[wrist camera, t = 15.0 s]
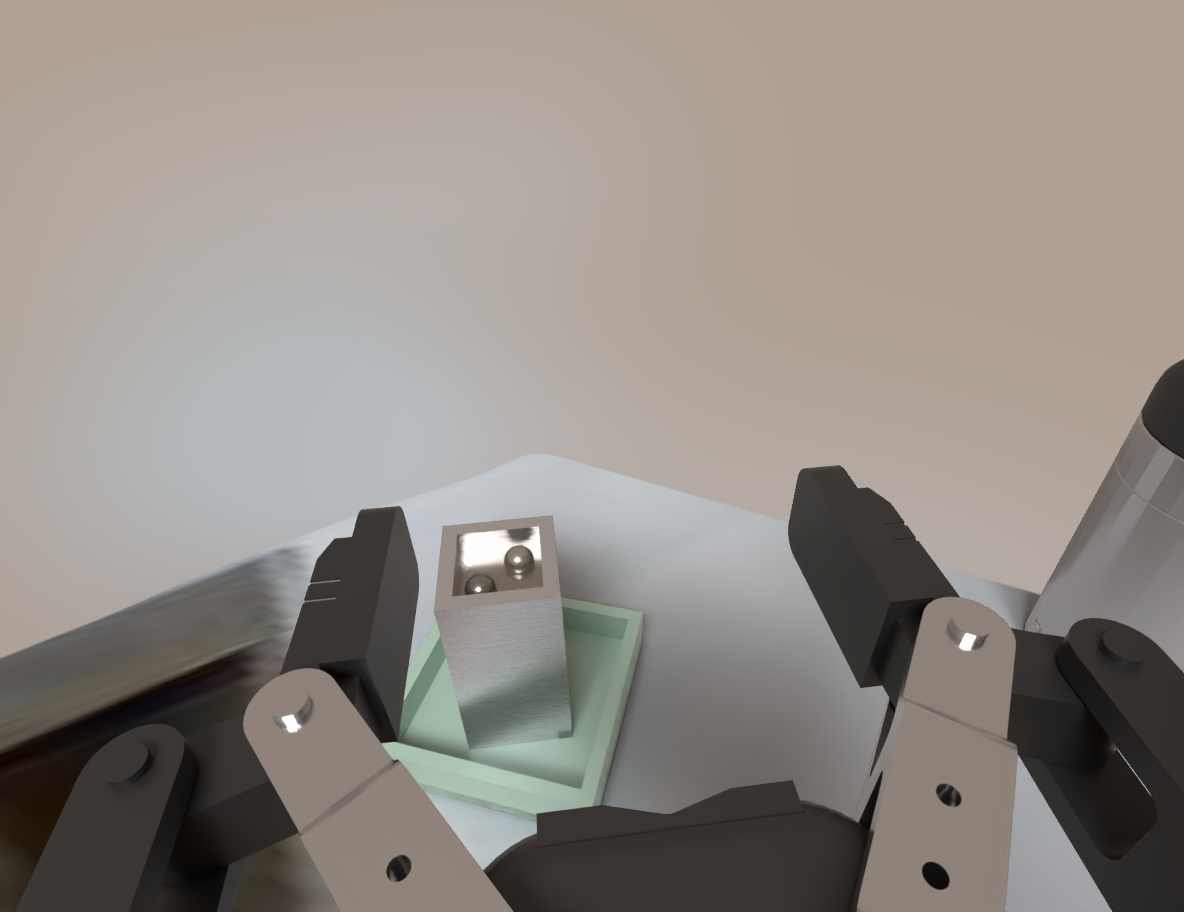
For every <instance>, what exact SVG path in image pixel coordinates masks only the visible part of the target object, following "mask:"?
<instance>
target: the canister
mask: <svg viewBox="0 0 1184 912" xmlns="http://www.w3.org/2000/svg"><path fill="white" fill-rule="evenodd" d="M434 613H435V617H436V621H437V625H438V629H439V633H440V636H441V640H442V644H443V648H444V652H445V656H446V660H447V664H448V668H449V672H450V676H451V680H452V684H453V687H454V691H455V695H456V699H457V703H458V707H459V711H460V715H461V719H462V723H463V727H464V731H465V735H466V738H467V742H468V746H469V750H474V749H482V748H490V747H498V746H506V745H514V744H522V743H530V742H538V741H546V740H554V739H562V738H570V737H573V736H572V724H571V712H570V700H569V688H568V676H567V664H566V652H565V640H564V627H563V615H562V603H561V593H560V583H559V573H558V563H557V554H556V544H555V534H554V525H553V515H552V516H542V517H532V518H522V519H511V520H501V521H491V522H481V523H471V524H461V525H451V526H443V529H442V539H441V549H440V558H439V568H438V578H437V587H436V597H435V607H434Z"/></svg>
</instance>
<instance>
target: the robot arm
mask: <svg viewBox="0 0 1184 912" xmlns="http://www.w3.org/2000/svg"><path fill="white" fill-rule="evenodd" d="M788 535H789V543H790V547H791V550H792V553H793V555H794V557H795V559H796V561H797V563H798V565H799V567H800V569H801V571H802V573H803V575H804V577H805V579H806V581H807V583H808V585H809V587H810V589H811V591H812V593H813V595H814V597H815V599H816V601H817V603H818V605H819V607H820V609H821V611H822V613H823V615H824V617H825V619H826V621H827V623H828V625H829V627H830V629H831V631H832V633H833V635H834V637H835V639H836V641H837V643H838V645H839V647H840V649H841V651H842V652H843V654H844V656H845V658H846V660H847V662H848V664H849V666H850V668H851V670H852V672H853V674H854V676H855V678H856V680H857V682H858V684H859V686H860V688H864V687H872V686H881V685H883V687H884V689H885V691H886V693H887V695H888V696H889V699H888V701H887V703H886V706H885V709H884V713H883V717H882V721H881V724H880V728H879V732H878V736H877V739H876V743H875V747H874V751H873V754H872V758H871V762H870V766H869V770H868V773H867V777H866V781H865V785H864V788H863V791H862V795H861V798H860V801H859V804H858V807H857V810H856V813H855V816H854V819H851V818H849V817H847V816H845V815H844V814H842V813H840V812H837V811H835V810H832V809H830V808H827V807H825V806H822V805H818V804H815V803H811V802H807V801H801V800H799V797H798V794H797V791H796V789H795V786H794V783H793V780H791V781H784V782H776V783H768V784H760V785H753V786H745V787H737V788H730V789H728V790H726V791H724V792H721V793H719V794H717V795H714V796H712V797H710V798H708V799H705V800H703V801H701V802H698V803H696V804H694V805H691V806H689V807H687V808H685V809H682V810H680V811H678V812H675V813H672V814H660V813H653V812H646V811H639V810H631V809H624V808H617V807H610V806H603V805H598V806H590V807H583V808H575V809H567V810H559V811H552V812H544V813H536V817H537V833H536V834H534V835H532V836H529V837H527V838H525V839H523V840H521V841H520V842H518V843H516V844H515V845H513V846H511V847H510V848H508V849H507V850H506V851H504V852H503V853H502V854H501V855H499V856H498V857H497V858H496V859H495V860H494V861H493V862H491V863H490V864H489V865H488V866H487V867H486V868H485V869H484V870H482V869H481V867H480V866H479V865H478V863H477V862H476V861H475V859H474V858H473V857H472V855H471V854H470V853H469V851H468V850H467V849H466V847H465V846H464V845H463V843H462V842H461V841H460V839H459V838H458V836H457V835H456V834H455V832H454V831H453V830H452V828H451V827H450V826H449V824H448V823H447V822H446V820H445V819H444V818H443V816H442V815H441V814H440V812H439V811H438V810H437V808H436V807H435V806H434V804H433V803H432V801H431V800H430V799H429V797H428V796H427V795H426V793H425V792H424V791H423V789H422V788H421V787H420V785H419V784H418V783H417V781H416V780H415V779H414V777H413V776H412V775H411V773H410V772H409V771H408V769H407V768H406V767H405V766H404V765H403V764H402V762H400V761H399V760H398V759H396V760H393V759H392V757H391V756H390V755H389V754H388V752H387V751H386V750H385V748H384V747H383V745H382V744H381V743H390V742H398V738H399V730H400V723H401V716H402V709H403V701H404V694H405V687H406V680H407V672H408V665H409V658H410V651H411V643H412V636H413V629H414V622H415V614H416V607H417V600H418V592H419V573H418V565H417V560H416V556H415V553H414V549H413V545H412V542H411V538H410V534H409V531H408V527H407V523H406V520H405V516H404V513H403V510H402V508H401V507H400V506H395V507H385V508H374V509H365V510H361V511H360V512H359V514H358V517H357V521H356V524H355V528H354V532H353V535H352V537H347V538H337V539H334V540H333V541H332V542H331V543H330V545H329V546H328V547H327V548H326V549H325V551H324V552H323V553H322V554H321V555H320V556H319V558H318V559H317V561H316V565H315V568H314V571H313V574H312V577H311V580H310V583H311V584H310V586H308V590H307V593H306V596H305V599H304V600H305V604H303V605H302V608H301V611H300V614H299V618H298V621H297V624H296V627H295V630H294V633H293V636H292V639H291V643H290V646H289V649H288V652H287V655H286V658H285V661H284V664H283V667H282V670H281V673H280V675H279V677H277V678H275V679H273V680H272V681H270V682H269V683H268V684H266V685H265V686H264V687H263V688H262V689H261V690H260V691H259V692H258V693H257V694H256V695H255V696H254V697H253V699H252V700H251V702H250V703H249V705H248V707H247V709H246V711H245V712H243V713H241V714H239V715H238V716H235V717H233V718H231V719H229V720H226V721H224V722H221V723H219V724H216V725H213V726H211V727H208V728H206V729H203V730H201V731H198V732H195V733H193V734H190V735H188V736H185V737H182V735H181V734H180V733H179V732H178V731H177V730H176V729H175V728H173V727H171V726H168V725H165V724H149V725H144V726H140V727H137V728H134V729H132V730H129V731H127V732H125V733H123V734H121V735H119V736H118V737H116V738H115V739H113V740H111V741H110V742H109V743H107V744H106V745H105V746H103V747H102V748H101V749H100V750H99V751H98V752H97V753H96V754H95V755H94V756H93V757H92V758H91V759H90V760H89V761H88V763H87V764H86V766H85V767H84V768H83V770H82V772H81V773H80V775H79V777H78V779H77V781H76V783H75V785H74V787H73V790H72V792H71V794H70V796H69V798H68V800H67V802H66V804H65V807H64V809H63V811H62V813H61V815H60V817H59V819H58V821H57V824H56V826H55V828H54V830H53V832H52V834H51V836H50V838H49V841H48V843H47V845H46V847H45V849H44V851H43V853H42V855H41V858H40V860H39V862H38V864H37V866H36V868H35V870H34V872H33V875H32V877H31V879H30V881H29V883H28V885H27V887H26V889H25V892H24V894H23V896H22V898H21V900H20V902H19V904H18V906H17V909H16V911H15V912H233V908H234V904H235V900H236V895H237V891H238V887H239V883H240V878H241V874H242V870H243V866H244V862H245V857H247V856H249V855H251V854H253V853H255V852H258V851H260V850H262V849H264V848H266V847H268V846H271V845H273V844H275V843H277V842H279V841H281V840H284V839H286V838H288V837H290V836H292V835H294V834H297V833H300V834H299V835H300V837H301V839H302V841H303V843H304V845H305V847H306V849H307V851H308V852H309V854H310V856H311V858H312V860H313V861H314V863H315V865H316V867H317V869H318V870H319V872H320V874H321V876H322V878H323V880H324V881H325V883H326V885H327V887H328V889H329V890H330V892H331V894H332V896H333V898H334V899H335V901H336V903H337V905H338V907H339V908H340V910H341V912H1005V904H1006V892H1007V880H1008V868H1009V856H1010V844H1011V832H1012V820H1013V808H1014V796H1015V784H1016V772H1017V759H1018V755H1019V757H1020V758H1021V760H1022V762H1023V763H1024V765H1025V767H1026V768H1027V770H1028V772H1029V773H1030V775H1031V777H1032V778H1033V780H1034V782H1035V783H1036V785H1037V787H1038V788H1039V790H1040V792H1041V793H1042V795H1043V797H1044V798H1045V800H1046V802H1047V803H1048V805H1049V807H1050V808H1051V810H1052V812H1053V813H1054V815H1055V817H1056V818H1057V820H1058V822H1059V823H1060V825H1061V827H1062V828H1063V830H1064V832H1065V833H1066V835H1067V837H1068V838H1069V840H1070V842H1071V843H1072V845H1073V847H1074V848H1075V850H1076V852H1077V853H1078V855H1079V857H1080V858H1081V860H1082V862H1083V863H1084V865H1085V867H1086V868H1087V870H1088V872H1089V873H1090V875H1091V877H1092V878H1093V880H1094V882H1095V883H1096V885H1097V887H1098V888H1099V890H1100V892H1101V893H1102V895H1103V897H1104V898H1105V900H1106V902H1107V903H1108V905H1109V907H1110V908H1111V910H1112V912H1184V359H1183V360H1181V361H1179V362H1177V363H1176V364H1174V365H1172V366H1171V367H1170V368H1169V369H1168V370H1166V371H1165V372H1164V374H1163V375H1162V376H1161V377H1160V379H1159V380H1158V382H1157V383H1156V385H1155V387H1154V388H1153V390H1152V392H1151V394H1150V396H1149V397H1148V400H1147V401H1146V403H1145V405H1144V407H1143V409H1142V410H1141V412H1140V414H1139V416H1138V418H1137V420H1136V421H1135V423H1134V425H1133V427H1132V429H1131V430H1130V433H1129V434H1128V436H1127V438H1126V440H1125V441H1124V444H1123V445H1122V447H1121V449H1120V451H1119V453H1118V455H1117V457H1116V458H1115V461H1114V462H1113V464H1112V466H1111V468H1110V470H1109V471H1108V473H1107V475H1106V477H1105V479H1104V480H1103V482H1102V484H1101V486H1100V488H1099V489H1098V491H1097V494H1096V495H1095V497H1094V499H1093V500H1092V502H1091V504H1090V506H1089V508H1088V510H1087V511H1086V513H1085V515H1084V517H1083V519H1082V521H1081V522H1080V524H1079V526H1078V528H1077V530H1076V532H1075V533H1074V535H1073V537H1072V539H1071V541H1070V543H1069V544H1068V546H1067V548H1066V550H1065V552H1064V554H1063V555H1062V557H1061V559H1060V561H1059V563H1058V564H1057V566H1056V568H1055V570H1054V572H1053V574H1052V576H1051V577H1050V579H1049V581H1048V582H1047V584H1046V586H1045V588H1044V590H1043V592H1042V593H1041V595H1040V597H1039V599H1038V601H1037V602H1036V604H1035V606H1034V608H1033V610H1032V612H1031V613H1030V615H1029V617H1028V619H1027V621H1026V624H1025V629H1024V631H1023V630H1017V629H1013V628H1010V627H1009V625H1008V624H1007V623H1006V621H1005V620H1004V619H1003V618H1002V617H1000V616H999V615H998V614H997V613H996V612H994V611H993V610H991V609H990V608H988V607H986V606H984V605H982V604H980V603H978V602H975V601H972V600H969V599H965V598H960V596H959V595H958V594H957V592H956V591H955V590H954V588H953V587H952V586H951V584H950V583H949V582H948V580H947V579H946V577H945V576H944V575H943V573H942V572H941V571H940V569H939V568H938V567H937V565H936V564H935V563H934V561H933V560H932V559H931V557H930V556H929V555H928V553H927V552H926V550H925V549H924V548H923V547H922V545H921V544H920V542H919V541H916V539H915V538H916V537H915V536H914V535H913V533H912V532H911V530H910V529H909V528H908V526H905V525H904V521H903V519H902V518H901V517H900V515H899V514H898V513H897V511H896V510H895V509H894V507H893V506H892V505H891V503H889V502H888V501H887V500H885V499H884V498H883V497H881V496H880V495H878V494H877V493H875V492H874V491H873V490H871V489H870V488H857V487H856V485H855V484H854V482H853V481H852V479H851V478H850V476H849V475H848V474H847V472H846V471H845V469H844V468H843V467H841V466H839V465H838V466H826V467H815V468H806V469H802V470H801V471H800V473H799V475H798V479H797V484H796V489H795V495H794V500H793V504H792V509H791V515H790V520H789V525H788ZM1117 748H1118V750H1119V751H1120V752H1121V754H1122V755H1123V756H1124V758H1125V759H1126V761H1127V762H1128V763H1129V765H1130V766H1131V767H1132V769H1133V770H1134V771H1135V773H1136V774H1137V776H1138V777H1139V778H1140V780H1141V781H1142V782H1143V784H1144V785H1145V786H1146V788H1147V789H1148V791H1149V792H1150V794H1151V796H1152V797H1151V796H1150V794H1149V793H1148V791H1147V790H1146V789H1145V787H1144V786H1143V785H1142V783H1141V782H1140V781H1139V779H1138V778H1137V776H1136V775H1135V774H1134V772H1133V771H1132V770H1131V768H1130V767H1129V765H1128V764H1127V763H1126V761H1125V760H1124V759H1123V757H1122V756H1121V755H1120V753H1119V752H1118V750H1117Z"/></svg>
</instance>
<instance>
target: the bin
mask: <svg viewBox="0 0 1184 912" xmlns="http://www.w3.org/2000/svg"><path fill="white" fill-rule="evenodd" d="M561 603H562V615H563V627H564V640H565V652H566V664H567V676H568V688H569V700H570V712H571V724H572V736H573V737H570V738H562V739H554V740H546V741H538V742H530V743H522V744H514V745H506V746H498V747H490V748H482V749H474V750H469V746H468V742H467V738H466V735H465V731H464V727H463V723H462V719H461V715H460V711H459V707H458V703H457V699H456V695H455V691H454V687H453V684H452V680H451V676H450V672H449V668H448V664H447V660H446V656H445V652H444V648H443V644H442V640H441V636H440V633H439V629H438V625H437V621H436V622H435V624H434V626H433V627H432V629H431V631H430V633H429V634H428V636H427V638H426V640H425V641H424V643H423V645H422V646H421V648H420V650H419V652H418V653H417V655H416V657H415V659H414V660H413V662H412V664H411V666H410V667H409V669H408V672H407V680H406V687H405V694H404V701H403V709H402V716H401V723H400V730H399V738H398V742H390V743H381V744H382V745H383V747H384V748H385V750H386V751H387V752H388V754H389V755H390V756H391V757H392V759H393V760H396V759H398V760H399V761H400V762H402V764H403V765H404V766H405V767H406V768H407V769H408V771H409V772H410V773H411V775H412V776H413V777H414V779H415V780H416V781H417V783H418V784H419V785H420V787H421V788H422V789H423V791H426V792H430V793H434V794H437V795H441V796H445V797H448V798H452V799H456V800H460V801H463V802H467V803H471V804H474V805H478V806H482V807H485V808H489V809H493V810H497V811H500V812H504V813H508V814H511V815H515V816H519V817H522V818H526V819H530V820H534V821H537V817H536V813H544V812H552V811H559V810H567V809H575V808H583V807H590V806H598V805H602V801H603V797H604V793H605V789H606V785H607V781H608V777H609V773H610V769H611V765H612V761H613V757H614V753H615V749H616V745H617V741H618V737H619V733H620V729H621V725H622V721H623V717H624V713H625V709H626V705H627V701H628V697H629V693H630V689H631V685H632V681H633V677H634V673H635V669H636V665H637V661H638V657H639V653H640V649H641V645H642V634H643V612H640V611H634V610H629V609H624V608H618V607H613V606H607V605H602V604H597V603H591V602H586V601H581V600H575V599H570V598H565V597H561Z"/></svg>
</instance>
